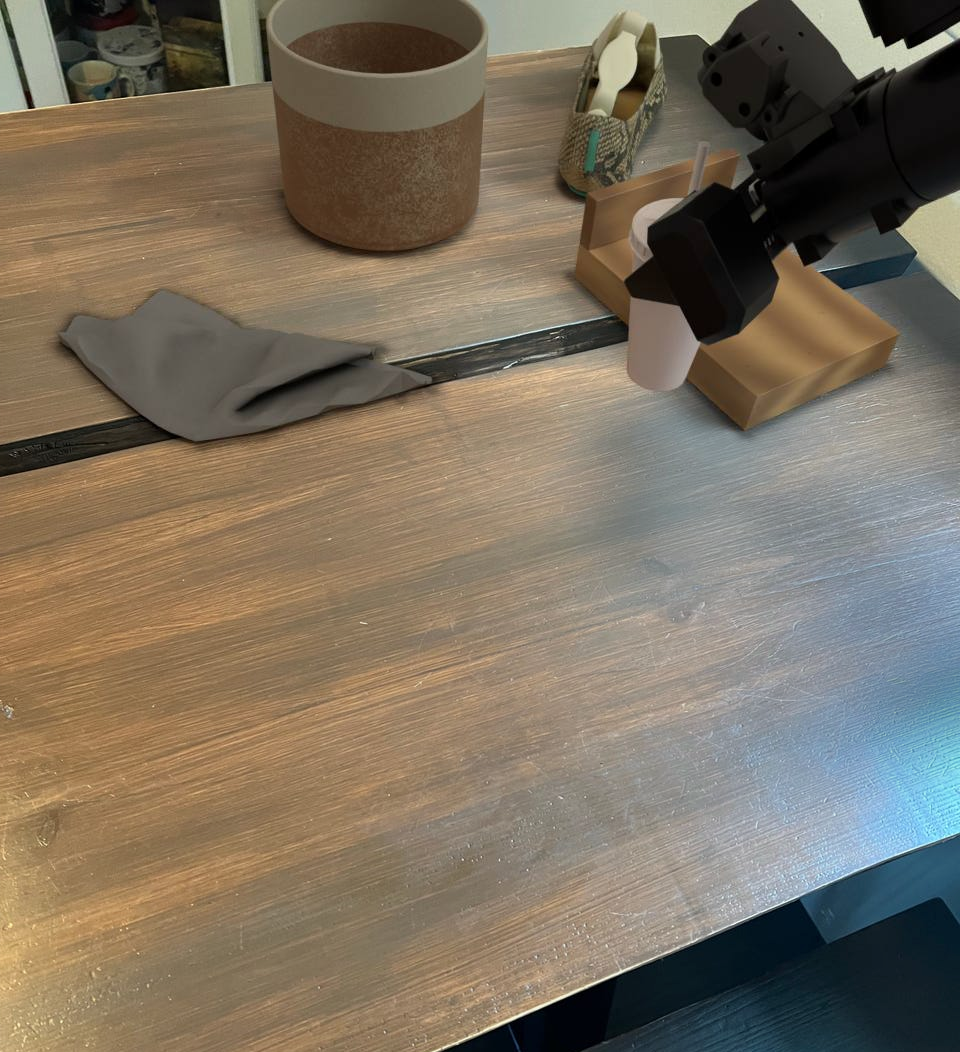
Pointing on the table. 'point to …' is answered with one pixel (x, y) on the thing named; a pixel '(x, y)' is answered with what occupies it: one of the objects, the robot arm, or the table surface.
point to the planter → (379, 117)
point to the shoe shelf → (765, 343)
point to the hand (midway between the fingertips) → (659, 262)
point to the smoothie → (659, 309)
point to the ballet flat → (613, 104)
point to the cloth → (225, 369)
